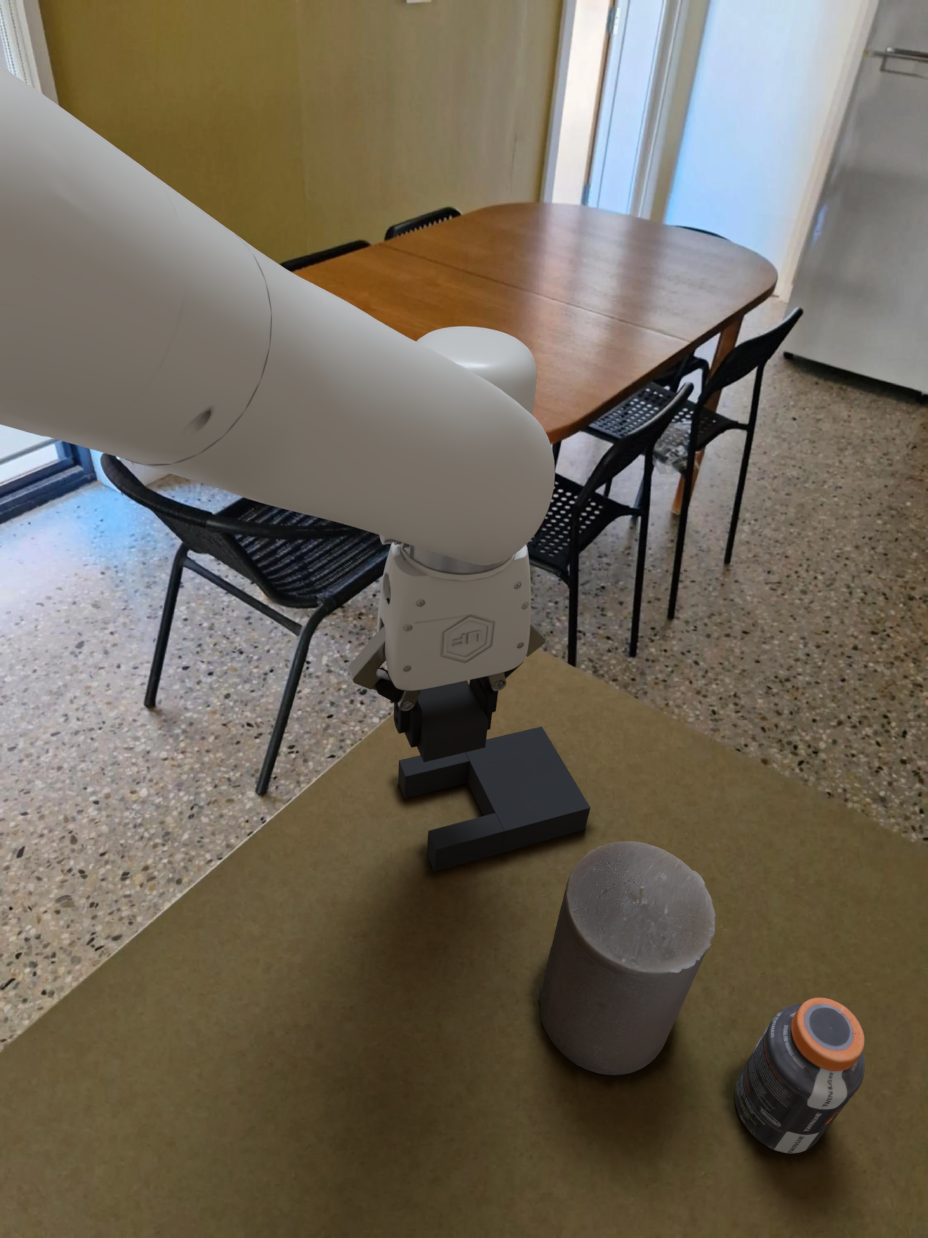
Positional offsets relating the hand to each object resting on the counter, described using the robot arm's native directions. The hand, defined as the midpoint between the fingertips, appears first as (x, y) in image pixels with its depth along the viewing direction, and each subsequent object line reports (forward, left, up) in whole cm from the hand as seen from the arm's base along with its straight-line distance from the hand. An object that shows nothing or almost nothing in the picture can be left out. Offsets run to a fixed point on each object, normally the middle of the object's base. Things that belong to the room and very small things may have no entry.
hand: (444, 724), depth 68 cm
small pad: (0, 0, -1) cm, 1 cm away
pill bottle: (+14, -29, -13) cm, 35 cm away
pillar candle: (+6, -19, -13) cm, 24 cm away
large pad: (+5, +1, -13) cm, 14 cm away
